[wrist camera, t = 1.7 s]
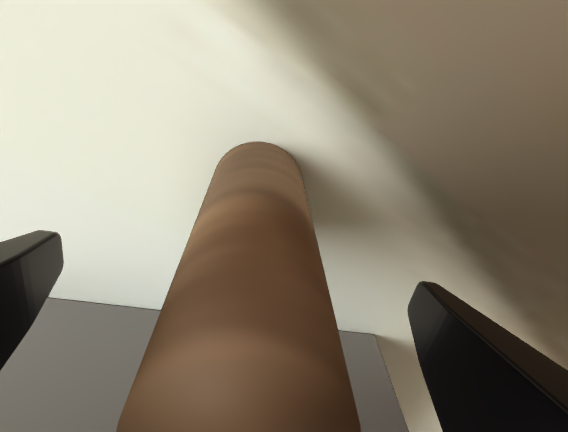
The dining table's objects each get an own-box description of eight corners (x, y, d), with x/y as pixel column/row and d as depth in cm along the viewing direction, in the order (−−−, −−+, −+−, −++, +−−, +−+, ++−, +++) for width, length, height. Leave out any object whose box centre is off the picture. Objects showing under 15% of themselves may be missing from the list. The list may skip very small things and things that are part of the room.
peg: (209, 217, 15) (118, 502, 6) (218, 134, 13) (113, 346, 4) (292, 229, 15) (329, 512, 6) (310, 150, 14) (393, 374, 5)
